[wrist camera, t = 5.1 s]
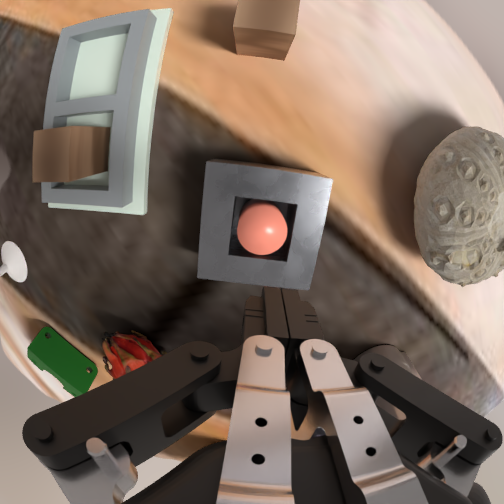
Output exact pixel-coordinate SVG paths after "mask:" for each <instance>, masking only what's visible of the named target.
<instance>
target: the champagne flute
mask: <svg viewBox="0 0 504 504" xmlns="http://www.w3.org/2000/svg"><path fill="white" fill-rule="evenodd" d="M1 257H2V262H3V265H2V266H1V267H0V276H2V275H3V274H4V273H6V272H7V273H8V274H9V276H10V277H11V278H12V279H13V280H15V281H17V282H23V281H25V279H26V277H27V265H26V261H25V258H24V256H23V254H22V252H21V250H20V249H19V247H18V246H17V245H16V244H14V243H13V242H11V241H6V242H5V243H4V244H3V246H2V249H1Z"/></svg>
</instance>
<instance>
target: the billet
mask: <svg viewBox="0 0 504 504" xmlns="http://www.w3.org/2000/svg"><path fill="white" fill-rule="evenodd" d="M110 130H111V127H93V126H66V127H58V128H51V129H44V130H37V131H34V137H33V163H32V176H33V182H71V181H75V180H78V179H81V178H85V177H88V176H92V175H96V174H99V173H103V172H107V171H108V156H109V141H110Z"/></svg>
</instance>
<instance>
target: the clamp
mask: <svg viewBox="0 0 504 504" xmlns="http://www.w3.org/2000/svg"><path fill="white" fill-rule="evenodd" d="M45 336H48V337H49V338H50V339H48V338H46V337H45ZM28 358H29V359H30V360H31V361H32V362H33V363H34V364H35V365H36V366H37V367H38V368H39V369H40V370H42V371H43V369H44V370H46V371H48V372H49V373H50V374H52V375H53V376H54V377H55V378H57V379H58V380H59V381H60V382H61V383H62V384H63V386H64V387H63V388H64V389H65V390H66V391H67V392H69V393H70V394H71V395H73V396H74V397H77V396H79V395H82V394H84V393H86V392H87V391H88V390H89V388H90V386H91V384H92V382H93V381H94V379H95V377H96V375H97V373H98V370H97V367H96V365H95V364H94V363H93V362H91V361H90V360H89V359H87V358H86V357H85V356H84V355H82V354H81V353H80V352H79V351H77V350H76V349H75V348H74V347H73V346H71V345H70V344H69V343H68V342H67V341H65V340H64V339H63V338H62V337H61V336H60V335H59V334H57V333H56V332H55V331H54V330H53V329H52V328H50V327H44V328H42V329H41V331H40V332H39V333H38V335H37V336H36V337H35V339H34V340H33V341H32V343H31V344H30V345H29V347H28ZM86 369H88V370H89V371H90V373H88V372H87V371H86Z"/></svg>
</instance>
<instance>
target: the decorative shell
mask: <svg viewBox="0 0 504 504" xmlns="http://www.w3.org/2000/svg"><path fill="white" fill-rule="evenodd" d="M414 205H415V208H414V227H415V236H416V240H417V242H418V245H419V249H420V252H421V255H422V257H423V259H424V261H425V263H426V264H427V266H429V267H430V268H432V269H433V270H434V271H435V272H436V273H437V274H439V275H440V276H441V277H442V279H443V280H445V281H448V282H450V283H455V284H460V285H461V286H462V287H464V286H465V285H469V284H476V283H479V282H481V281H482V280H486V279H488V278H490V277H491V276H495V277H497V276H498V273H499V272H500V271H502V270H503V269H504V138H503V137H502V136H500V135H499V134H497V133H493V132H490V131H488V130H485V129H482V128H480V127H462V128H461V129H460V130H456V131H454V132H453V133H451V134H449V135H448V136H447V137H446V138H445V139H444V140H442V141H441V143H440V144H439V145H437V146H436V147H435V149H434V150H433V151H432V152H431V153H430V154H429V155H428V157H427V159H426V161H425V163H424V164H423V166H422V168H421V169H420V174H419V176H418V178H417V188H416V193H415V196H414Z"/></svg>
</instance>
